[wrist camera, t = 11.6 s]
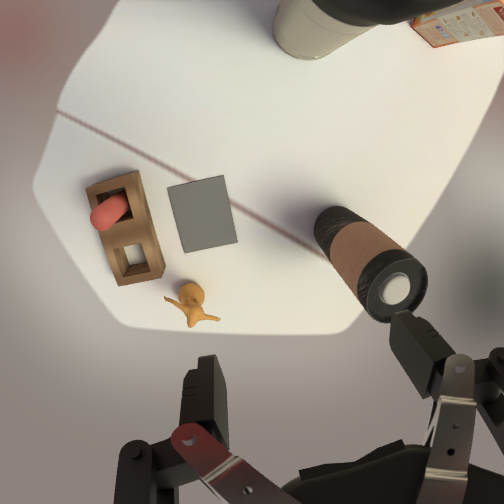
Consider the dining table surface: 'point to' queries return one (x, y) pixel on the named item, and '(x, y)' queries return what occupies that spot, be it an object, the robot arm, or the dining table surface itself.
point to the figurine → (192, 304)
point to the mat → (203, 214)
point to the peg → (110, 211)
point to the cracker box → (462, 22)
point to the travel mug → (371, 263)
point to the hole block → (129, 231)
